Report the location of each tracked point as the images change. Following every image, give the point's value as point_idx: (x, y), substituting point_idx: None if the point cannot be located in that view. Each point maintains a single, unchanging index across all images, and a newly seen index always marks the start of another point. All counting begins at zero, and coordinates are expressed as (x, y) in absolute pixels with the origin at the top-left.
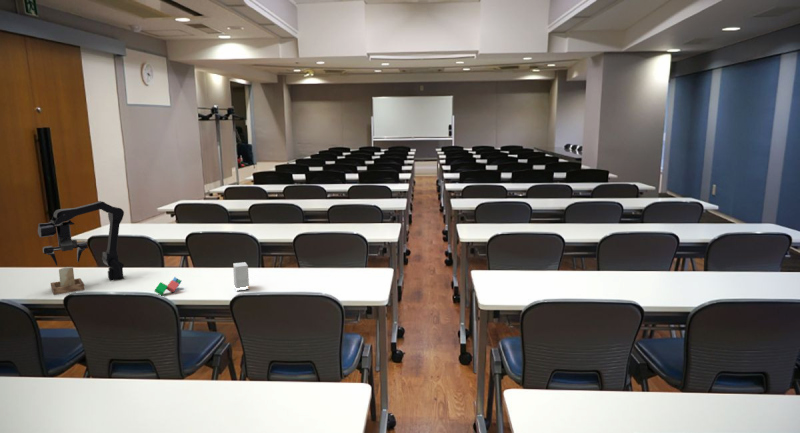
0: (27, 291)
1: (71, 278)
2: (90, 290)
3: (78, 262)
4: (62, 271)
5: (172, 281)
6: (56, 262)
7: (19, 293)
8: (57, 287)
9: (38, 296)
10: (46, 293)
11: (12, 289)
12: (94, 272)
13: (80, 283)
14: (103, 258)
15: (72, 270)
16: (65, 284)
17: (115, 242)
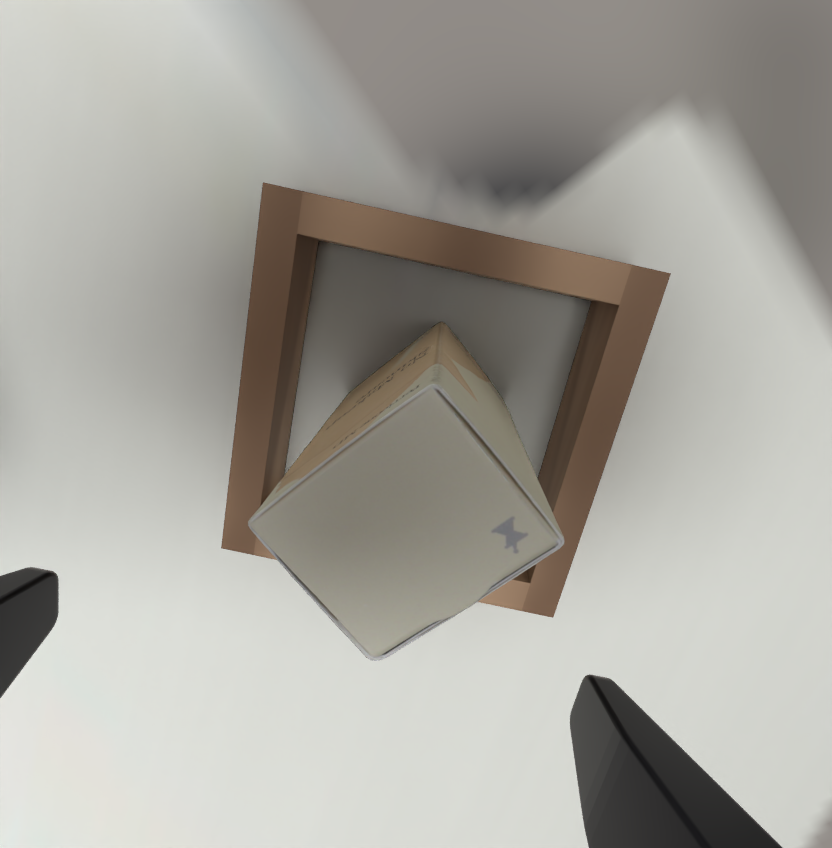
0: (735, 648)
1: (367, 393)
2: (246, 73)
3: (43, 572)
4: (508, 454)
5: None
6: (651, 752)
7: (817, 637)
8: None
9: (775, 352)
10: (659, 410)
11: (776, 812)
12: (41, 805)
13: (293, 271)
14: None
15: (295, 470)
16: (469, 361)
17: None
